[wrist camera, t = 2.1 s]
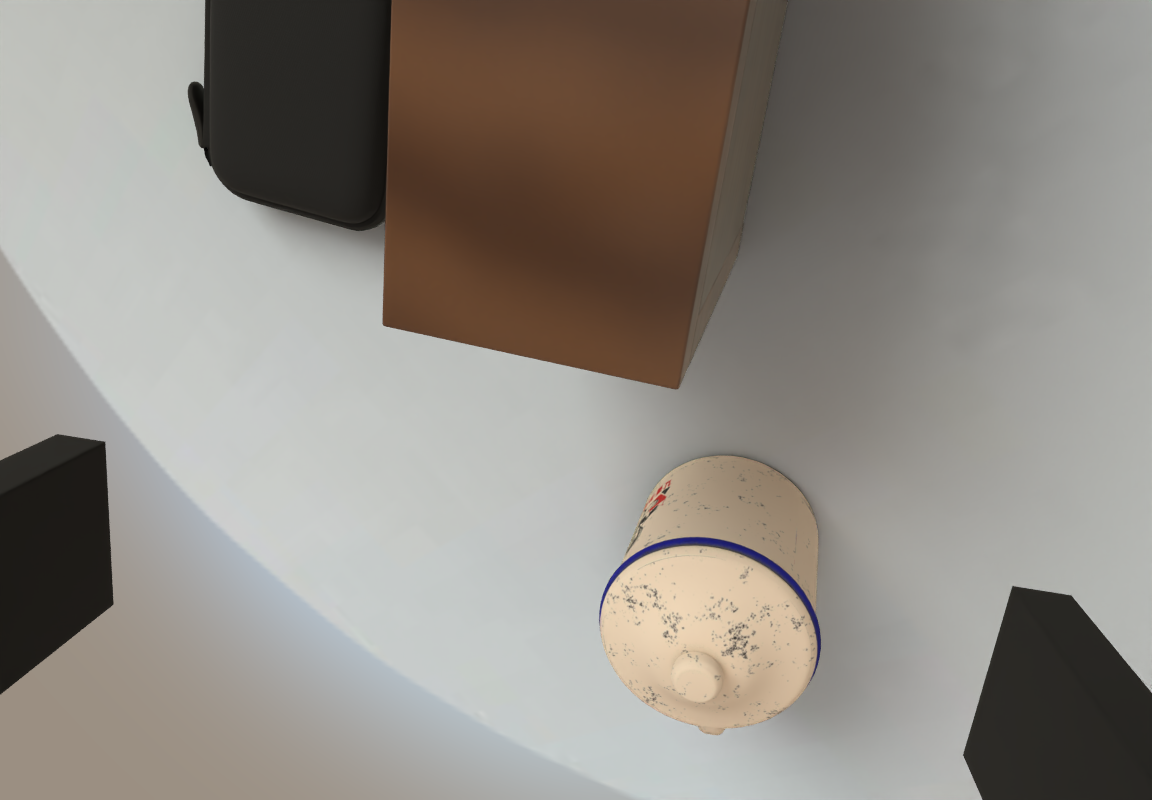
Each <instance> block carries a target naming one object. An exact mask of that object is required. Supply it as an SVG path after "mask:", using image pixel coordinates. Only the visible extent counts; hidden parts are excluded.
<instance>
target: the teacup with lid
mask: <svg viewBox="0 0 1152 800" xmlns="http://www.w3.org/2000/svg"><path fill="white" fill-rule="evenodd" d="M817 566H818V529H817V524H816V520H815V517H814V514H813V512H812V509H811V507H810V505H809V503H808V502H807V500H806V499H805V497H804V496H803V494H802V493H801V492H800V491H799V489H798V488H797V487H796V486H795V485H794V484H793V483H792V482H791V481H789V480H788V479H787V478H786V477H785V476H783V475H782V474H781V473H779V472H777V471H776V470H774V469H773V468H771V467H769V466H767V465H765V464H762V463H760V462H757V461H754V460H751V459H747V458H742V457H736V456H722V455H721V456H709V457H703V458H699V459H695V460H692V461H689V462H687V463H685V464H682V465H680V466H679V467H677V468H675V469H673V470H672V471H671V472H669V473H668V474H667V475H666V476H665V477H663V478H662V479H661V480H660V482H659V483H658V484H657V485H656V486H655V488H654V489H653V491H652V492H651V494H650V496H649V498H648V500H647V502H646V505H645V507H644V510H643V512H642V514H641V517H640V519H639V522H638V524H637V527H636V529H635V532H634V534H633V537H632V539H631V542H630V544H629V547H628V549H627V552H626V554H625V557H624V559H623V561H622V564H621V566H620V567H619V568H618V569H617V570H616V571H615V573H614V574H613V576H612V577H611V578H610V580H609V582H608V584H607V586H606V588H605V591H604V593H603V596H602V600H601V604H600V612H599V623H600V631H601V638H602V642H603V646H604V649H605V652H606V655H607V657H608V659H609V661H610V663H611V665H612V667H613V669H614V670H615V672H616V673H617V675H618V676H619V678H620V679H621V680H622V682H623V683H624V684H625V685H626V686H627V687H628V688H629V689H630V690H631V691H632V692H633V693H634V694H635V695H636V696H637V697H638V698H639V699H641V700H642V701H643V702H645V703H646V704H647V705H649V706H650V707H652V708H654V709H655V710H657V711H659V712H661V713H662V714H664V715H666V716H669V717H671V718H673V719H676V720H679V721H682V722H684V723H688V724H692V725H696V726H698V727H699V729H700V730H701V731H702V732H703V733H706V734H712V735H720V734H721V733H723V731H724V730H725V728H738V727H744V726H749V725H753V724H757V723H760V722H763V721H765V720H768V719H770V718H772V717H774V716H775V715H777V714H779V713H781V712H782V711H784V710H785V709H786V708H788V707H789V706H790V705H791V704H793V703H794V702H795V701H796V700H797V699H798V698H799V697H800V695H801V694H802V693H803V691H804V690H805V689H806V687H807V686H808V684H809V683H810V681H811V679H812V677H813V676H814V673H815V671H816V668H817V665H818V661H819V658H820V650H821V636H820V628H819V624H818V620H817V617H816V593H817Z"/></svg>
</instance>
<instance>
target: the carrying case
mask: <svg viewBox="0 0 1152 800" xmlns="http://www.w3.org/2000/svg"><path fill="white" fill-rule="evenodd" d="M391 5H392V0H205V60H204V88H203V86H202V85H201V84H200V83H199V82H192V83H191V84H190V85H189V87H188V99H189V103H190V107H191V110H192V114H193V118H194V122H195V126H196V130H197V136H198V142H199V146H200V147H201V148H204V151H205V156H206V159H207V160H208V162H209V165H210V166H212V167H213V169H214V172H215V174H216V175H217V177H218V178H219V180H220V181H221V182H222V184H223V185H224V186H225V187H226V188H227V189H228V190H230V191H231V192H232V193H233V194H235V195H237V196H238V197H240V198H242V199H245V200H248V201H251V202H255V203H258V204H262V205H265V206H269V207H272V208H276V209H280V210H283V211H287V212H290V213H294V214H297V215H301V216H304V217H308V218H311V219H315V220H319V221H322V222H326V223H329V224H333V225H336V226H340V227H344V228H347V229H351V230H356V231H364V230H368V229H372V228H374V227H376V226H378V225H380V224H381V223H383V222H384V221H385V218H386V183H387V147H388V112H389V76H390V41H391Z"/></svg>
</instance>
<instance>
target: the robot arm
mask: <svg viewBox="0 0 1152 800" xmlns="http://www.w3.org/2000/svg"><path fill="white" fill-rule="evenodd" d="M111 568H112V567H111V547H110V529H109V508H108V488H107V469H106V450H105V442H103V441H96V440H90V439H84V438H77V437H71V436H64V435H59V434H57V435H55V436H53V437H51V438H48V439H46V440H44V441H42V442H39V443H38V444H35V445H33V446H31V447H29V448H26V449H24V450H22V451H20V452H18V453H16V454H14V455H11V456H9V457H7V458H5V459H3V460H1V461H0V694H1V693H3V692H4V691H5V690H6V689H8V688H9V687H10V686H12V685H13V684H14V683H15V682H17V681H18V680H19V679H20V678H22V677H23V676H24V675H25V674H27V673H28V672H29V671H30V670H32V669H33V668H34V667H35V666H37V665H38V664H39V663H40V662H42V661H43V660H44V659H45V658H47V657H48V656H49V655H51V654H52V653H53V652H54V651H56V650H57V649H58V648H59V647H61V646H62V645H63V644H64V643H66V642H67V641H68V640H69V639H71V638H72V637H73V636H74V635H76V634H77V633H78V632H79V631H80V630H81V629H83V628H84V627H86V626H87V625H88V624H90V623H91V622H92V621H93V620H95V619H96V618H97V617H98V616H100V615H101V614H102V613H103V612H105V611H106V610H107V609H108V608H110V607H111V606H112V605H113V587H112V569H111ZM963 756H964V758H965V760H966V763H967V765H968V767H969V770H970V772H971V774H972V776H973V779H974V781H975V783H976V786H977V788H978V790H979V793H980V795H981V797H982V799H983V800H1152V693H1151V692H1150V690H1149V689H1148V688H1147V687H1146V686H1145V684H1144V683H1143V682H1142V681H1141V679H1140V678H1139V677H1138V676H1137V675H1136V673H1135V672H1134V671H1133V670H1132V669H1131V667H1130V666H1129V665H1128V664H1127V663H1126V661H1125V660H1124V659H1123V658H1122V656H1121V655H1120V654H1119V653H1118V652H1117V650H1116V649H1115V648H1114V647H1113V646H1112V644H1111V643H1110V642H1109V641H1108V640H1107V638H1106V637H1105V636H1104V635H1103V633H1102V632H1101V631H1100V630H1099V629H1098V627H1097V626H1096V625H1095V624H1094V623H1093V621H1092V620H1091V619H1090V618H1089V617H1088V615H1087V614H1086V613H1085V612H1084V610H1083V609H1082V608H1081V607H1080V606H1079V604H1078V603H1077V602H1076V601H1075V600H1074V598H1073V597H1072V596H1071V595H1065V594H1059V593H1052V592H1046V591H1040V590H1033V589H1027V588H1021V587H1015V586H1012V590H1011V593H1010V596H1009V600H1008V603H1007V607H1006V610H1005V614H1004V617H1003V620H1002V624H1001V627H1000V631H999V634H998V637H997V641H996V644H995V648H994V651H993V655H992V658H991V661H990V665H989V668H988V672H987V675H986V679H985V682H984V685H983V689H982V692H981V696H980V699H979V703H978V706H977V709H976V713H975V716H974V720H973V723H972V727H971V730H970V733H969V737H968V740H967V744H966V747H965V751H964V754H963Z"/></svg>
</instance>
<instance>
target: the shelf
mask: <svg viewBox="0 0 1152 800" xmlns="http://www.w3.org/2000/svg"><path fill="white" fill-rule="evenodd" d="M787 4H788V0H392V5H391V41H390V76H389V112H388V147H387V183H386V218H385V254H384V289H383V325H384V326H387V327H391V328H396V329H400V330H405V331H410V332H414V333H419V334H423V335H428V336H433V337H437V338H442V339H446V340H451V341H455V342H460V343H465V344H469V345H474V346H478V347H483V348H488V349H492V350H497V351H501V352H506V353H511V354H515V355H520V356H524V357H529V358H534V359H538V360H543V361H547V362H552V363H557V364H561V365H566V366H570V367H575V368H580V369H584V370H589V371H593V372H598V373H602V374H607V375H612V376H616V377H621V378H625V379H630V380H635V381H639V382H644V383H648V384H653V385H658V386H662V387H667V388H671V389H678V388H679V387H680V385H681V382H682V380H683V378H684V376H685V373H686V371H687V369H688V367H689V365H690V363H691V360H692V358H693V356H694V353H695V351H696V349H697V347H698V344H699V342H700V340H701V338H702V335H703V333H704V331H705V329H706V326H707V324H708V322H709V320H710V317H711V315H712V313H713V311H714V308H715V306H716V304H717V302H718V299H719V297H720V295H721V293H722V290H723V288H724V286H725V283H726V281H727V279H728V277H729V274H730V272H731V270H732V268H733V265H734V263H735V261H736V259H737V256H738V251H739V246H740V241H741V236H742V231H743V226H744V218H745V213H746V208H747V203H748V198H749V193H750V188H751V183H752V178H753V173H754V168H755V163H756V158H757V153H758V148H759V143H760V138H761V133H762V128H763V123H764V118H765V113H766V109H767V104H768V99H769V94H770V89H771V84H772V79H773V74H774V69H775V64H776V59H777V54H778V49H779V44H780V39H781V34H782V29H783V24H784V19H785V14H786V9H787Z"/></svg>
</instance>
